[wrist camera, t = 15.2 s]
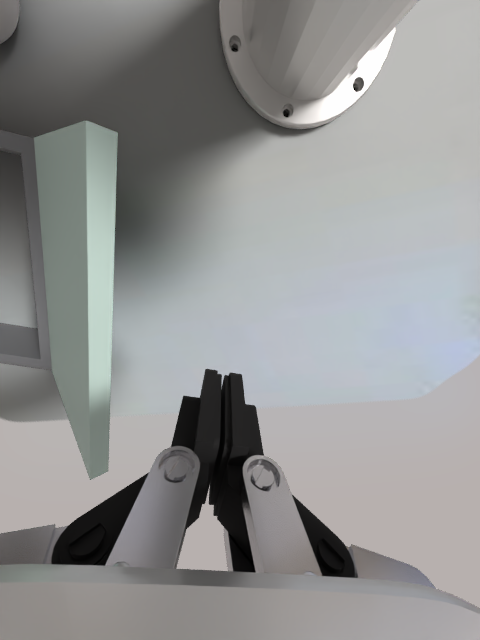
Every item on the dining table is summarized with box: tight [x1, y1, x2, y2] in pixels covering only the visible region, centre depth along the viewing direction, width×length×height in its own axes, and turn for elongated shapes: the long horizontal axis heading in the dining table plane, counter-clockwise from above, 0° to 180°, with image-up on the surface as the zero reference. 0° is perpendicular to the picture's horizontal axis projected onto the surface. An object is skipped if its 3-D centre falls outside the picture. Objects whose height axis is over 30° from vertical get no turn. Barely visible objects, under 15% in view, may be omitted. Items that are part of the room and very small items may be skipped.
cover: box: [34, 120, 118, 480], centre depth 16 cm, size 18×12×1 cm
